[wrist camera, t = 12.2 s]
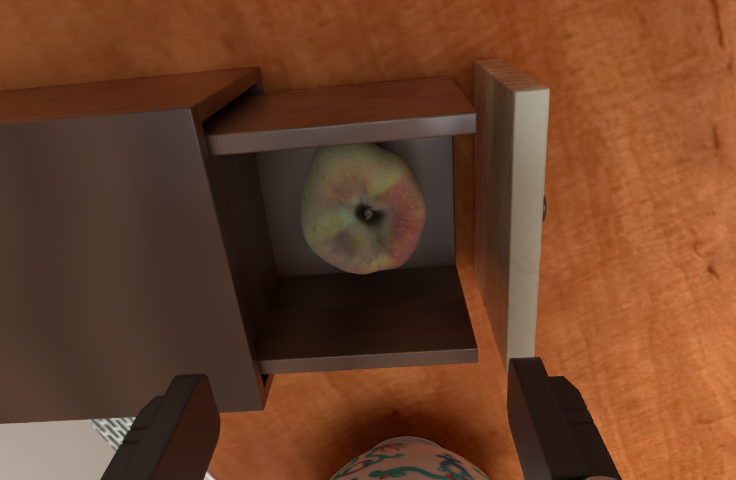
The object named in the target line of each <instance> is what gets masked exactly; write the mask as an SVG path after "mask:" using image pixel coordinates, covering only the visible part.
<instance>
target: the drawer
mask: <svg viewBox="0 0 736 480" xmlns="http://www.w3.org/2000/svg"><path fill="white" fill-rule="evenodd" d="M549 100H550V89H549V88H548V87H546V86H544V85H542V84H541V83H539V82H537V81H536V80H534V79H532V78H531V77H529V76H527V75H525V74H524V73H522V72H520V71H519V70H517V69H515V68H514V67H512V66H510V65H508V64H507V63H505V62H503V61H502V60H500V59H498V58H495V59H484V60H475V61H474V108H473V106H472V105H471V104H470V103H469V101H468V100H467V99H466V97H465V96H464V95H463V93H462V92H461V91H460V90H459V88H458V87H457V86H456V84H455V83H454V82H453V80H452V79H451V78H450V77H449V76H448V77H437V78H426V79H415V80H405V81H394V82H383V83H372V84H361V85H351V86H340V87H329V88H318V89H307V90H297V91H286V92H275V93H264V94H253V95H243V96H238V97H237V98H235V99H234V100H232V101H231V102H230V103H228V104H227V105H226V106H224V107H223V108H221V109H220V110H219V111H217V112H216V113H214V114H213V115H212V116H210V117H209V118H207V119H206V120H205V121H203V122H202V127H203V131H204V136H205V140H206V144H207V148H208V153H209V157H210V161H211V165H212V170H213V174H214V178H215V182H216V187H217V191H218V195H219V199H220V203H221V208H222V212H223V216H224V220H225V225H226V229H227V233H228V237H229V242H230V246H231V250H232V254H233V259H234V263H235V267H236V271H237V276H238V280H239V284H240V288H241V292H242V297H243V301H244V305H245V309H246V314H247V318H248V322H249V326H250V331H251V335H252V339H253V343H254V348H255V352H256V356H257V360H258V365H259V369H260V373H261V375H262V374H280V373H298V372H316V371H334V370H352V369H370V368H388V367H407V366H425V365H443V364H461V363H477V362H478V348H477V344H476V340H475V336H474V332H473V328H472V325H471V321H470V317H469V313H468V309H467V306H466V302H465V298H464V294H463V290H462V286H461V283H460V279H459V275H458V271H457V267H456V245H455V200H454V154H453V136H457V135H469V134H474V170H475V277H476V280H477V284H478V287H479V290H480V293H481V296H482V299H483V302H484V306H485V309H486V312H487V315H488V318H489V321H490V324H491V327H492V331H493V334H494V337H495V340H496V343H497V346H498V349H499V353H500V356H501V359H502V362H503V365H504V368H505V371H506V373H507V374H508V364H509V359H510V358H523V357H534V352H535V335H536V318H537V302H538V285H539V268H540V251H541V234H542V222H543V221H544V220H545V216H546V199H545V195H544V184H545V167H546V150H547V133H548V116H549ZM363 143H374V144H375V145H377V146H379V147H381V148H383V149H385V150H387V151H390V152H392V153H394V154H396V155H398V156H399V157H401V158H402V159H403V160H404V161H405V162H406V163H407V165H408V166H409V168H410V169H411V171H412V172H413V174H414V176H415V178H416V180H417V182H418V183H419V185H420V187H421V190H422V192H423V195H424V199H425V203H426V210H427V216H426V223H425V227H424V230H423V232H422V235H421V238H420V241H419V243H418V245H417V247H416V249H415V251H414V252H413V254H412V255H411V257H410V258H409V259H408V260H407V261H406V262H405V263H404V264H402V265H401V266H399V267H396V268H394V269H388V270H380V271H376V272H372V273H369V274H355V273H350V272H346V271H344V270H341V269H339V268H337V267H335V266H333V265H331V264H329V263H328V262H326V261H325V260H323V259H322V258H321V257H319V256H318V255H317V254H316V253H315V252H314V251H313V250H312V249H311V248H310V247H309V246H308V244H307V242H306V240H305V237H304V234H303V231H302V227H301V202H302V194H303V189H304V186H305V183H306V180H307V177H308V174H309V170H310V166H311V161H312V158H313V155H314V153H315V151H316V150H317V149H318V147H327V146H339V145H351V144H363Z"/></svg>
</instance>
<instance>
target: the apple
mask: <svg viewBox="0 0 736 480" xmlns="http://www.w3.org/2000/svg"><path fill="white" fill-rule="evenodd" d="M426 216H427V210H426V203H425V199H424V195H423V192H422V190H421V187H420V185H419V183H418V182H417V180H416V178H415V176H414V174H413V172H412V171H411V169H410V168H409V166H408V165H407V163H406V162H405V161H404V160H403V159H402V158H401V157H399V156H398V155H396V154H394V153H392V152H390V151H387V150H385V149H383V148H381V147H379V146H377V145H375V144H374V143H363V144H351V145H339V146H327V147H318V149H317V150H316V151H315V153H314V155H313V158H312V161H311V166H310V170H309V174H308V177H307V180H306V183H305V186H304V189H303V194H302V202H301V227H302V231H303V234H304V237H305V240H306V242H307V244H308V246H309V247H310V248H311V249H312V250H313V251H314V252H315V253H316V254H317V255H318V256H319V257H321V258H322V259H323V260H325V261H326V262H328V263H329V264H331V265H333V266H335V267H337V268H339V269H341V270H344V271H346V272H350V273H355V274H369V273H372V272H376V271H380V270H388V269H394V268H396V267H399V266H401V265H402V264H404V263H405V262H406V261H407V260H408V259H409V258H410V257H411V255H412V254H413V252H414V251H415V249H416V247H417V245H418V243H419V241H420V238H421V235H422V232H423V230H424V227H425V223H426Z"/></svg>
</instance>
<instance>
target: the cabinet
mask: <svg viewBox="0 0 736 480" xmlns="http://www.w3.org/2000/svg"><path fill="white" fill-rule="evenodd" d="M253 94H264V90H263V85H262V79H261V73H260V68H259V67H258V66H256V67H246V68H235V69H225V70H215V71H204V72H194V73H183V74H173V75H163V76H152V77H142V78H131V79H121V80H111V81H100V82H90V83H80V84H69V85H59V86H48V87H38V88H28V89H17V90H7V91H0V424H5V423H27V422H46V421H65V420H86V419H106V418H126V417H137V415H138V413H139V412H140V410H141V409H142V408H143V407H145V406H146V405H147V404H148V403H149V402H150V401H151V400H152V399H153V398H154V397H155V396H161V395H164V394H165V393H166V391H167V389H168V387H169V385H170V383H171V382H172V380H173V378H174V377H175V376H176V375H187V374H206V375H207V377H208V379H209V382H210V385H211V389H212V392H213V395H214V399H215V402H216V405H217V409H218V412H219V413H225V412H245V411H263V410H264V408H265V404H266V401H267V398H268V394H269V391H270V387H271V384H272V380H273V377H274V374H262V375H261V373H260V369H259V365H258V360H257V356H256V352H255V348H254V343H253V339H252V335H251V331H250V326H249V322H248V318H247V314H246V309H245V305H244V301H243V297H242V292H241V288H240V284H239V280H238V276H237V271H236V267H235V263H234V259H233V254H232V250H231V246H230V242H229V237H228V233H227V229H226V225H225V220H224V216H223V212H222V208H221V203H220V199H219V195H218V191H217V187H216V182H215V178H214V174H213V170H212V165H211V161H210V157H209V153H208V148H207V144H206V140H205V136H204V131H203V127H202V122H203V121H205V120H206V119H207V118H209V117H210V116H212V115H213V114H214V113H216V112H217V111H219V110H220V109H221V108H223V107H224V106H226V105H227V104H228V103H230V102H231V101H232V100H234V99H235V98H237V97H238V96H243V95H253Z"/></svg>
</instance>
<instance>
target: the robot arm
mask: <svg viewBox="0 0 736 480" xmlns="http://www.w3.org/2000/svg"><path fill="white" fill-rule="evenodd" d="M507 411H508V419H509V424H510V429H511V432H512V436H513V439H514V443H515V446H516V450H517V453H518V457H519V460H520V464H521V467H522V471H523V474H524V478H525V480H622V479H621V477H620V475H619V473H618V471H617V469H616V467H615V465H614V463H613V461H612V458H611V456H610V454H609V452H608V450H607V448H606V446H605V444H604V442H603V440H602V438H601V436H600V433H599V431H598V429H597V427H596V425H594V422H593V419H592V417H591V415H590V413H589V411H587V406H586V404H585V402H584V400H583V398H582V396H581V394H580V392H579V390H578V389H577V388H576V387H575V386H574V385H572V384H571V383H570V382H569V381H568V380H567V379H566V378H565V377H564V376H556V377H548V374H547V372H546V370H545V367H544V365H543V362H542V360H541V358H540V357H523V358H510V359H509V364H508V390H507ZM219 434H220V416H219V412H218V409H217V405H216V402H215V399H214V395H213V392H212V389H211V385H210V382H209V379H208V377H207V375H206V374H187V375H176V376H175V377H174V378H173V380H172V382H171V383H170V385H169V387H168V389H167V391H166V393H165V394H164V395H161V396H155V397H154V398H153V399H152V400H151V401H150V402H149V403H148V404H147V405H146V406H145V407H143V408H142V409H141V410H140V412H139V413H138V415H137V417H136V419H135V420H134V422H133V424H132V426H131V430H129V431H128V433H127V434H126V436H125V438H124V439H123V444H121V445H120V446H119V448H118V450H117V452H116V453H115V455H114V457H113V459H112V460H111V462H110V464H109V466H108V467H107V469H106V471H105V472H104V474H103V476H102V478H101V479H100V480H204V477H205V474H206V472H207V469H208V466H209V463H210V461H211V458H212V455H213V453H214V450H215V447H216V444H217V442H218V439H219Z"/></svg>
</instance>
